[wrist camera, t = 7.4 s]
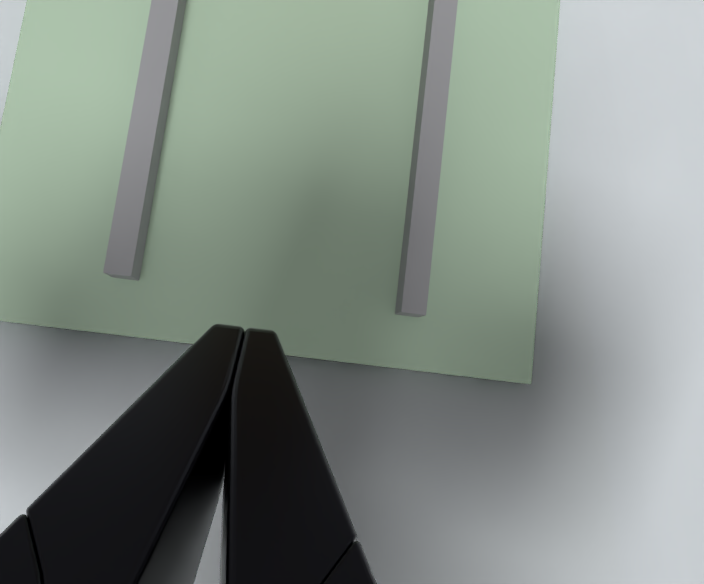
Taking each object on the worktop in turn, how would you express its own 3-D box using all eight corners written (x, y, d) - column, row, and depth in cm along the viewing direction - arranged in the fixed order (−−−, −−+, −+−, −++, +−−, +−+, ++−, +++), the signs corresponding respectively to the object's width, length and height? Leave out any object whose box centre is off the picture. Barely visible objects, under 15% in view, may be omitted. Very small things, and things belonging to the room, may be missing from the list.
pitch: (523, 383, 19) (545, 386, 18) (-29, 317, 17) (-60, 313, 16) (568, -206, 22) (590, -248, 21) (103, -323, 20) (89, -380, 19)
